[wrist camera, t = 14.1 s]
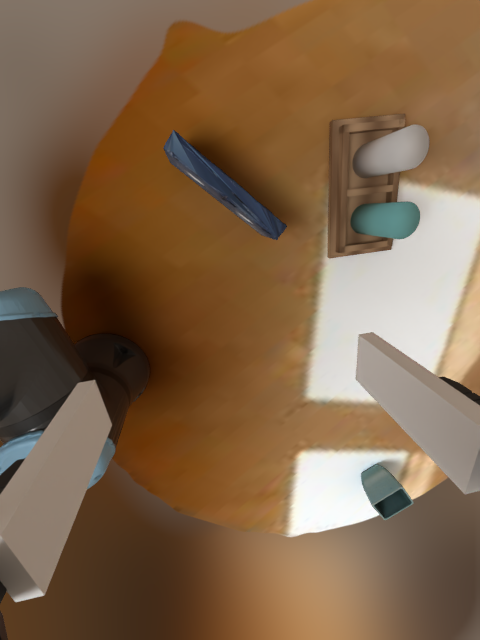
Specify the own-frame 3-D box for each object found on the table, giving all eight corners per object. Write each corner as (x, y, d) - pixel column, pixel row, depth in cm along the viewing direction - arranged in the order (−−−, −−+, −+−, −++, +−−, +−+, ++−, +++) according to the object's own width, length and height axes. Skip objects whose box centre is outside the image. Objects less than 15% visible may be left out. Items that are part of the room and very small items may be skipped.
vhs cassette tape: (270, 223, 47) (288, 226, 38) (259, 238, 47) (275, 244, 38) (179, 144, 41) (174, 124, 31) (169, 162, 41) (161, 147, 32)
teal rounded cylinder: (349, 235, 48) (385, 241, 39) (351, 205, 46) (389, 203, 37) (375, 232, 49) (417, 236, 40) (378, 202, 47) (422, 199, 38)
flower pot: (391, 472, 77) (415, 503, 68) (364, 488, 77) (384, 521, 69) (379, 455, 73) (402, 486, 65) (352, 472, 74) (371, 505, 66)
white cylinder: (351, 179, 45) (391, 171, 36) (353, 144, 43) (395, 126, 34) (379, 176, 45) (426, 167, 36) (382, 141, 43) (432, 122, 34)
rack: (327, 257, 50) (333, 259, 48) (329, 122, 42) (337, 117, 40) (387, 248, 51) (396, 250, 49) (400, 115, 43) (412, 110, 41)
